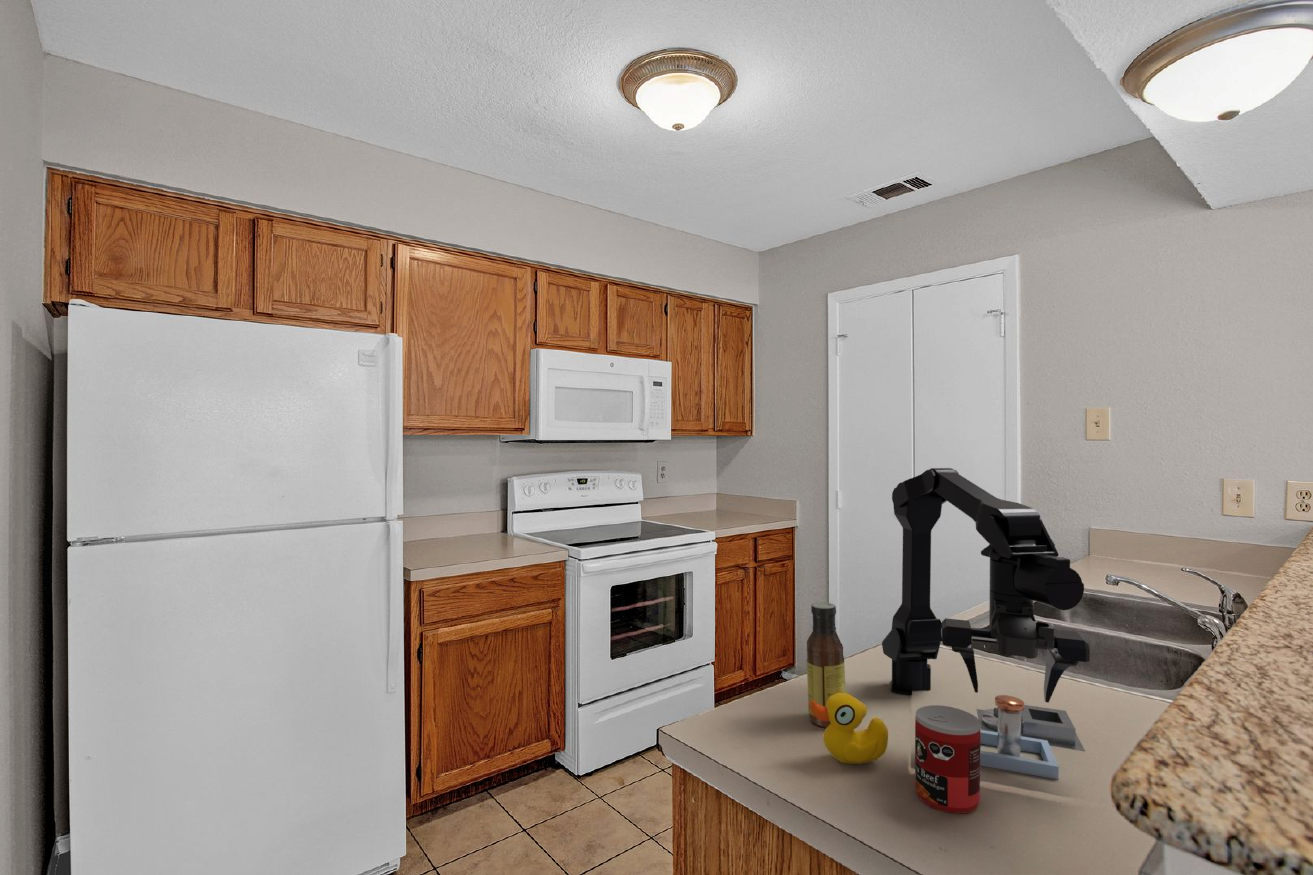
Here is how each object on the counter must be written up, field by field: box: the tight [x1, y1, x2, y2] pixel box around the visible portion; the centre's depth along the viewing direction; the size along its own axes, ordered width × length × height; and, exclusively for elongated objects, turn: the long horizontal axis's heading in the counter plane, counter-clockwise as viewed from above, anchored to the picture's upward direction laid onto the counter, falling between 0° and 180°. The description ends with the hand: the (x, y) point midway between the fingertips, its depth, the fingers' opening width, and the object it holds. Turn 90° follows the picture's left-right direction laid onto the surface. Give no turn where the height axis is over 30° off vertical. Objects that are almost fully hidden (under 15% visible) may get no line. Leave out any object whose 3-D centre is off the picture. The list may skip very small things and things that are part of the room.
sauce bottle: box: [806, 601, 846, 729], centre depth 108 cm, size 7×6×20 cm
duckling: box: [810, 692, 889, 765], centre depth 95 cm, size 11×5×10 cm, turn 85°
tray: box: [980, 729, 1060, 780], centre depth 95 cm, size 11×8×2 cm
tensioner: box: [976, 704, 1086, 752], centre depth 104 cm, size 14×10×3 cm
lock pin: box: [994, 694, 1025, 757], centre depth 95 cm, size 4×4×9 cm
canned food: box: [914, 704, 981, 814], centre depth 86 cm, size 8×8×11 cm
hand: (1010, 696), depth 95 cm, fingers open, 9 cm apart
